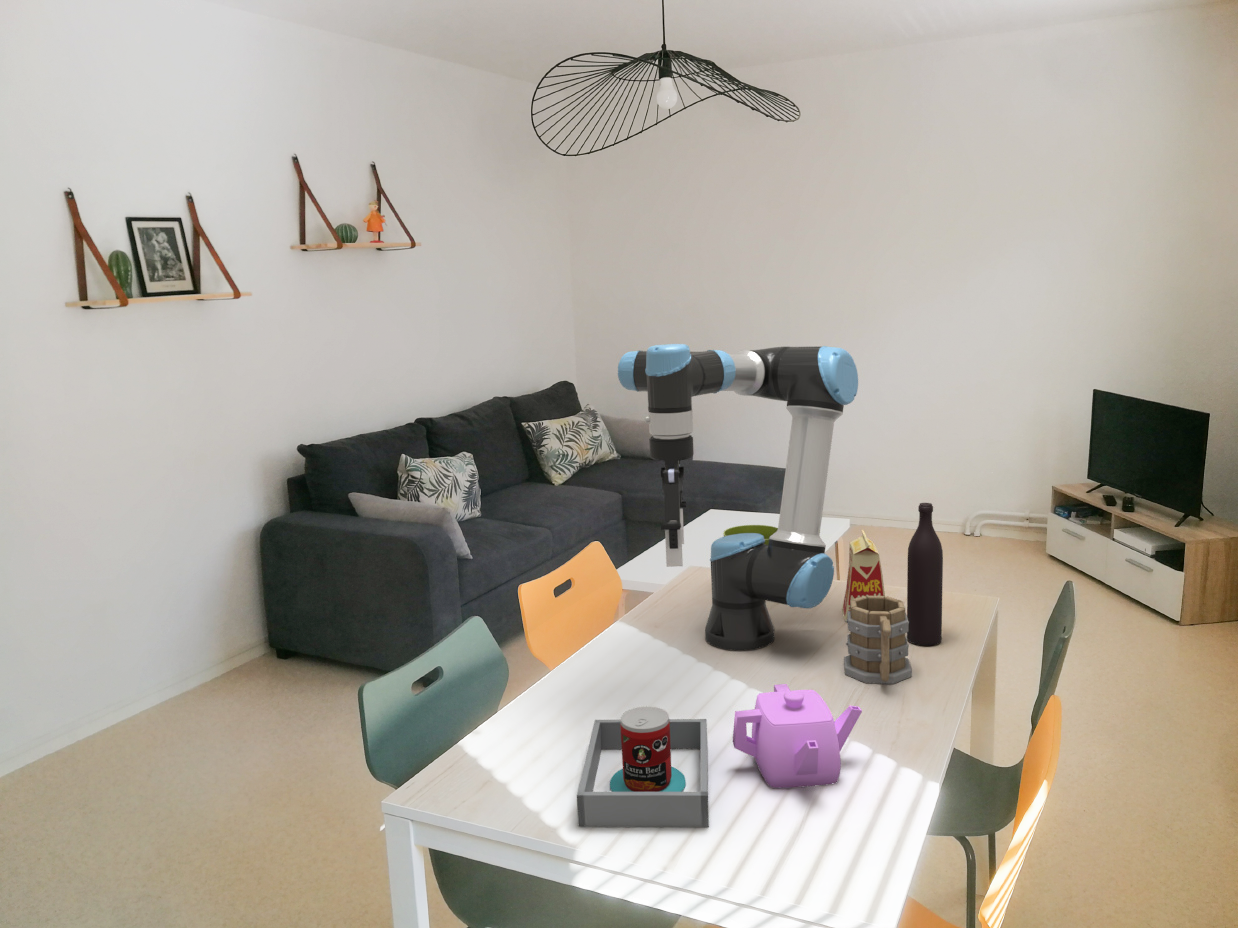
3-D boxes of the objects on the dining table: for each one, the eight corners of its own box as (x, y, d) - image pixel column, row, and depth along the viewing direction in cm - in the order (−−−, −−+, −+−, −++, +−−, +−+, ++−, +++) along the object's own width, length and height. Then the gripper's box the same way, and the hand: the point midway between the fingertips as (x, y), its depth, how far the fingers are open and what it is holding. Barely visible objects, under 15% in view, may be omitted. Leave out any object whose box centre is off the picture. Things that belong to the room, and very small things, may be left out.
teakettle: (777, 731, 162) (775, 664, 160) (867, 759, 151) (867, 688, 149) (721, 772, 150) (719, 700, 148) (816, 806, 139) (815, 729, 137)
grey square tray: (596, 746, 160) (594, 719, 159) (707, 746, 158) (706, 718, 157) (578, 826, 136) (576, 795, 136) (708, 826, 135) (707, 795, 134)
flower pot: (722, 585, 242) (721, 525, 239) (780, 582, 241) (779, 523, 238) (727, 604, 227) (725, 541, 224) (788, 602, 227) (787, 538, 224)
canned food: (618, 793, 144) (615, 727, 142) (628, 767, 152) (625, 704, 150) (667, 796, 143) (665, 729, 141) (675, 769, 150) (672, 706, 148)
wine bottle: (948, 641, 198) (951, 503, 192) (927, 649, 194) (929, 509, 188) (921, 632, 204) (922, 498, 198) (899, 639, 200) (900, 504, 194)
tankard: (843, 657, 192) (842, 587, 190) (906, 659, 190) (907, 588, 187) (847, 699, 173) (847, 623, 170) (918, 702, 171) (919, 624, 168)
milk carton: (841, 610, 220) (841, 528, 216) (882, 610, 218) (882, 527, 215) (845, 623, 211) (845, 538, 207) (887, 624, 209) (888, 538, 206)
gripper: (652, 425, 172) (657, 535, 176) (644, 448, 148) (650, 576, 152) (693, 423, 172) (697, 534, 175) (692, 447, 147) (696, 575, 151)
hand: (675, 554), depth 164 cm, fingers open, 13 cm apart
